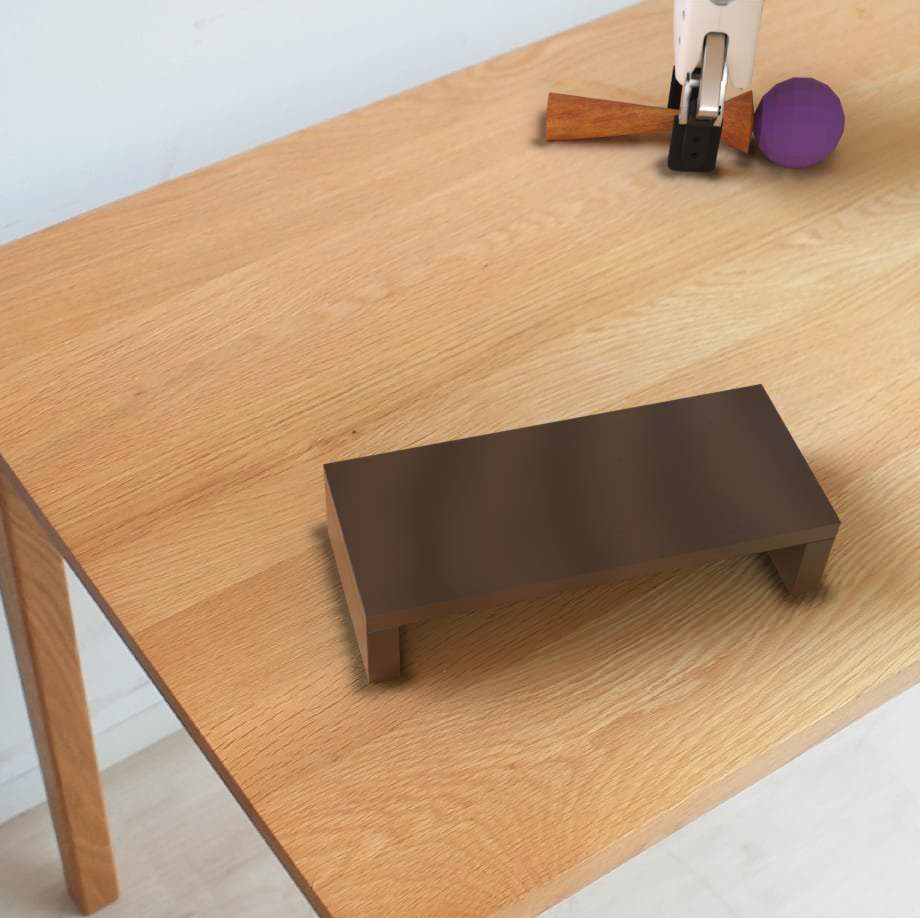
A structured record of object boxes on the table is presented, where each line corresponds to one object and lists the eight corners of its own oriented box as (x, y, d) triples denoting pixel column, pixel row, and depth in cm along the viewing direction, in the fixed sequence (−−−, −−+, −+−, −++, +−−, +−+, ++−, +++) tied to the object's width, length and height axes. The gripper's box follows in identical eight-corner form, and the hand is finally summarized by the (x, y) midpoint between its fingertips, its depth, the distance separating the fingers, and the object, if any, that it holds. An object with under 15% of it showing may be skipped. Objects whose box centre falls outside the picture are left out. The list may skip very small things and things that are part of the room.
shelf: (742, 458, 82) (761, 383, 77) (816, 595, 76) (841, 521, 71) (328, 538, 78) (322, 463, 74) (369, 689, 72) (365, 617, 67)
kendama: (553, 59, 101) (847, 64, 98) (552, 139, 105) (835, 147, 102) (544, 92, 97) (852, 99, 94) (543, 175, 100) (840, 184, 97)
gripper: (805, -36, 81) (749, 223, 95) (786, -173, 92) (738, 77, 106) (670, -43, 82) (634, 215, 95) (667, -178, 93) (635, 71, 106)
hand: (689, 140), depth 100 cm, fingers closed on kendama, 5 cm apart
